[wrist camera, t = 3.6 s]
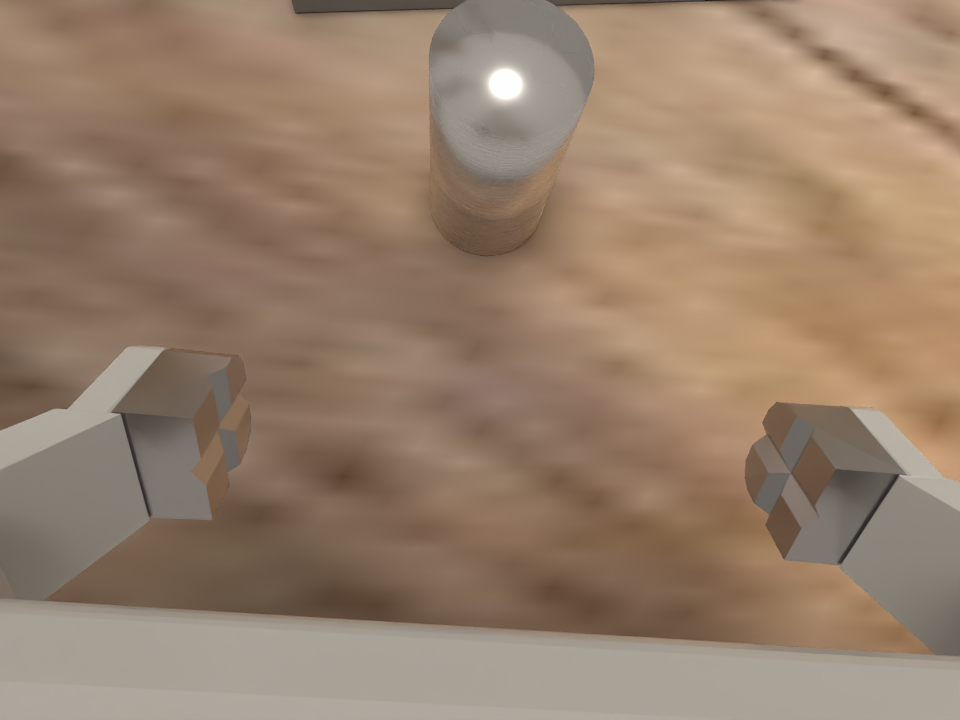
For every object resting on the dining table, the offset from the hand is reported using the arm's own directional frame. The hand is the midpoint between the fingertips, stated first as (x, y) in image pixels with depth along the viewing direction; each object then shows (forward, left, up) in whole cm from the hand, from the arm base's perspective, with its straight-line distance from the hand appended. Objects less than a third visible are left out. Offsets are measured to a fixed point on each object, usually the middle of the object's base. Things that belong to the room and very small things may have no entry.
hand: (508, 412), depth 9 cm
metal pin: (+2, +10, -12) cm, 16 cm away
